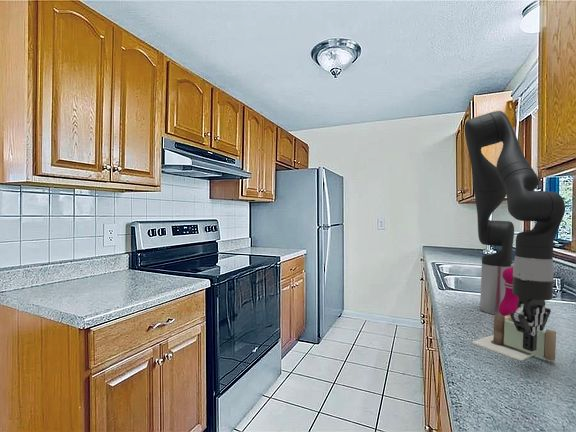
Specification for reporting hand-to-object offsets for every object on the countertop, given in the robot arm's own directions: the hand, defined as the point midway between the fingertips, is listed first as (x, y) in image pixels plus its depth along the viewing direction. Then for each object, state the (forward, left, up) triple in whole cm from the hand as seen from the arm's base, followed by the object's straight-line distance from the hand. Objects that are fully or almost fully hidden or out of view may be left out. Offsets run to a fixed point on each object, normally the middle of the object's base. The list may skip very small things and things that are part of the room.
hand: (529, 349), depth 76 cm
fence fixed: (-13, -10, -4) cm, 17 cm away
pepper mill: (-28, -16, -4) cm, 33 cm away
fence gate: (-7, -3, -3) cm, 8 cm away
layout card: (-9, -8, -4) cm, 13 cm away
